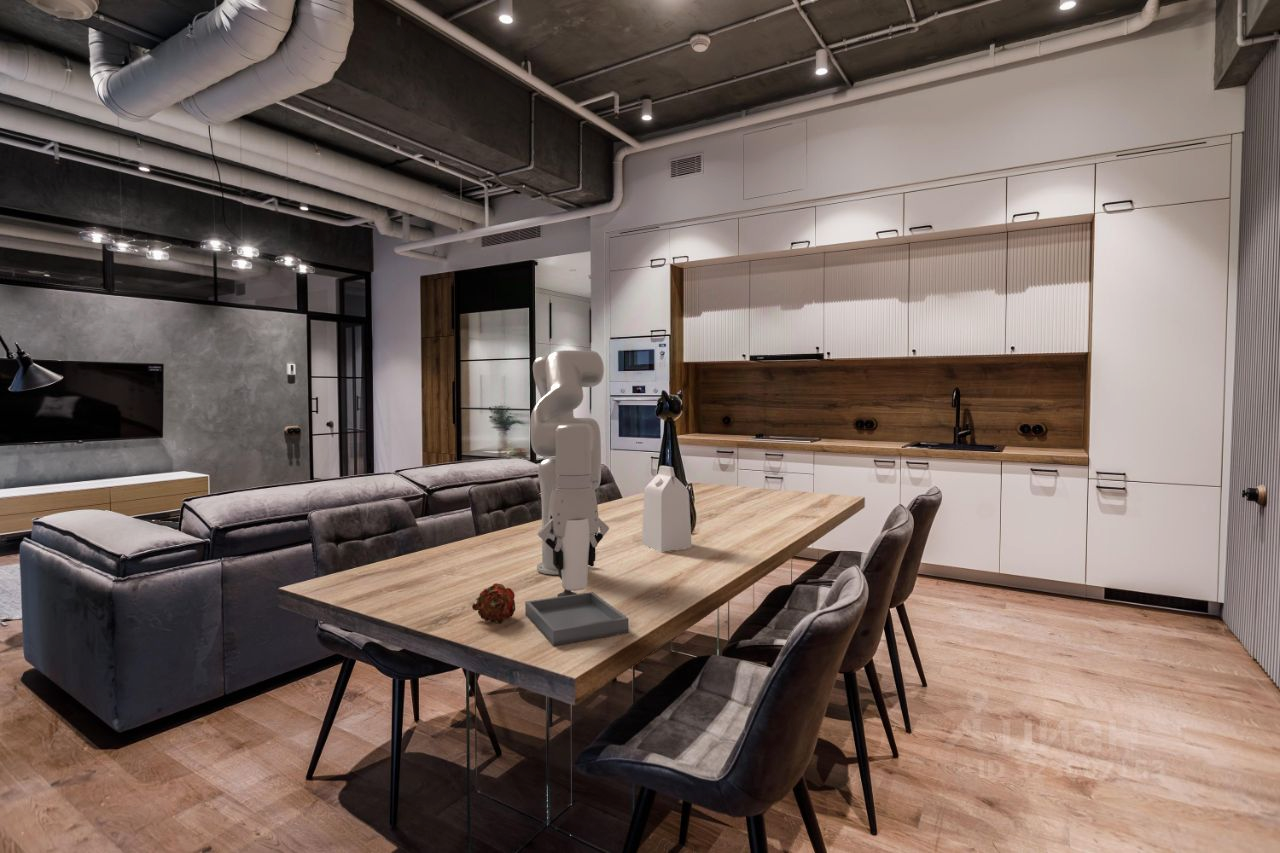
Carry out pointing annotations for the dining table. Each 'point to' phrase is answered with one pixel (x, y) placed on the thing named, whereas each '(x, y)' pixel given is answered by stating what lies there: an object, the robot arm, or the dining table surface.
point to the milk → (666, 513)
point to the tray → (575, 618)
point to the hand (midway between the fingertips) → (574, 566)
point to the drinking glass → (575, 554)
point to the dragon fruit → (495, 603)
